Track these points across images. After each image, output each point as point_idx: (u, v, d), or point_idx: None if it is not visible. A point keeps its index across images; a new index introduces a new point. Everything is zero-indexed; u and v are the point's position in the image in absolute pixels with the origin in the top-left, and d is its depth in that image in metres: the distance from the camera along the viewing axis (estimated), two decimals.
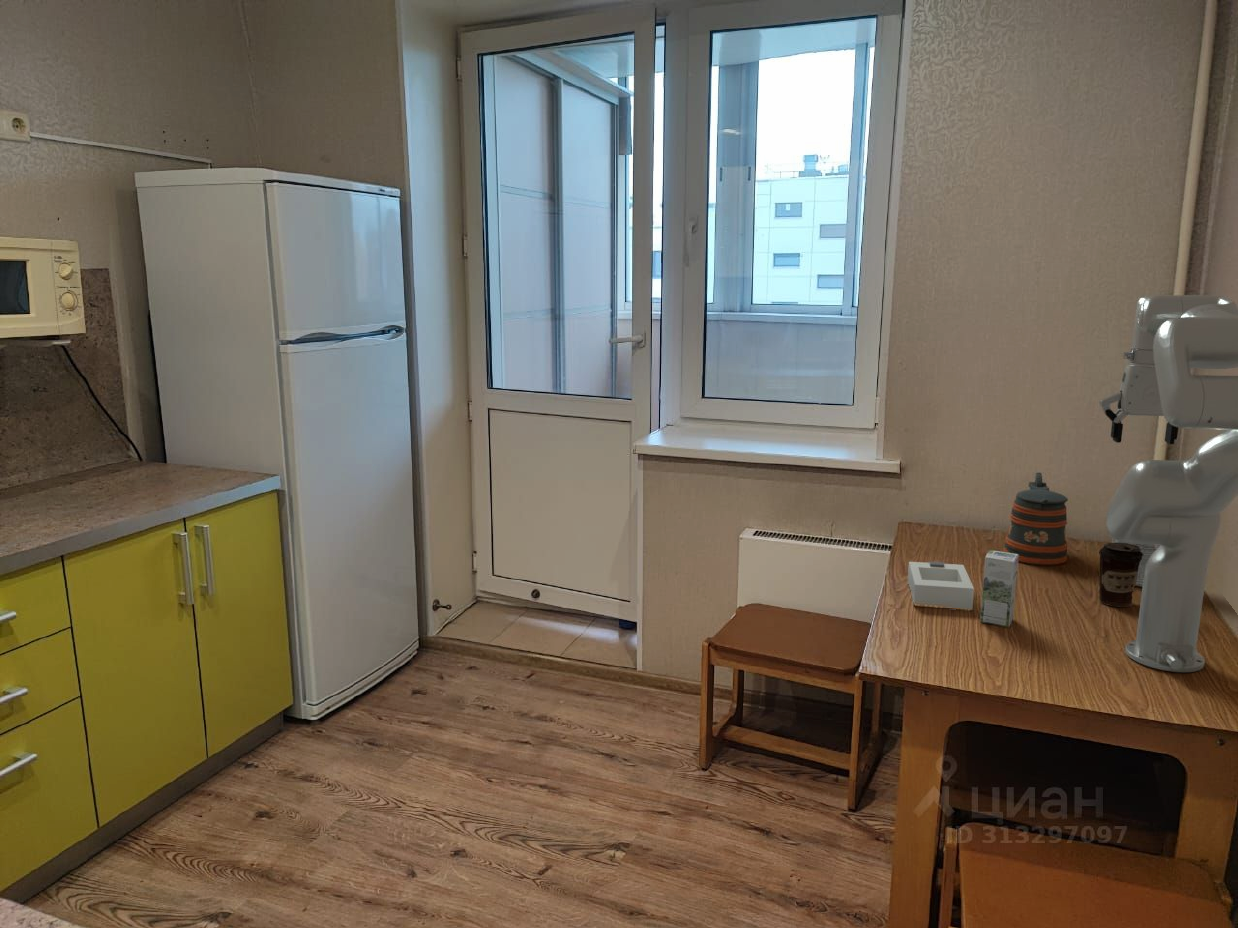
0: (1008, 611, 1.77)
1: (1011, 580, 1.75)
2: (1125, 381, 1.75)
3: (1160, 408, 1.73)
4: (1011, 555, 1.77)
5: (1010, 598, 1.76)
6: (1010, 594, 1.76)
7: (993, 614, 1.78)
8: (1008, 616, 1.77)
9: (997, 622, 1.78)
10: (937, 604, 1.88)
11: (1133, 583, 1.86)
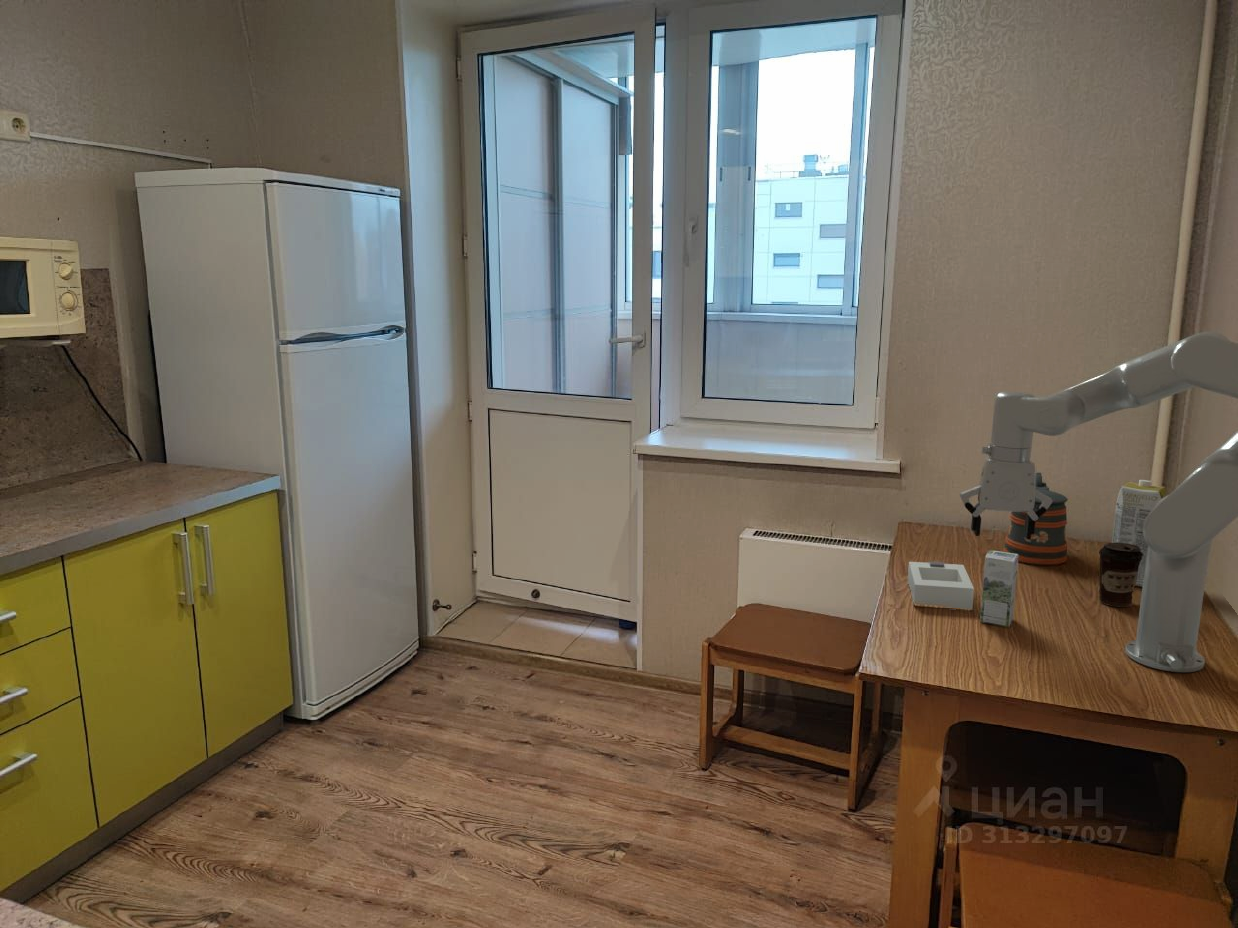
0: (1008, 611, 1.77)
1: (1011, 580, 1.75)
2: (983, 476, 1.74)
3: (1016, 504, 1.73)
4: (1011, 555, 1.77)
5: (1010, 598, 1.76)
6: (1010, 594, 1.76)
7: (993, 614, 1.78)
8: (1008, 616, 1.77)
9: (997, 622, 1.78)
10: (937, 604, 1.88)
11: (1133, 583, 1.86)
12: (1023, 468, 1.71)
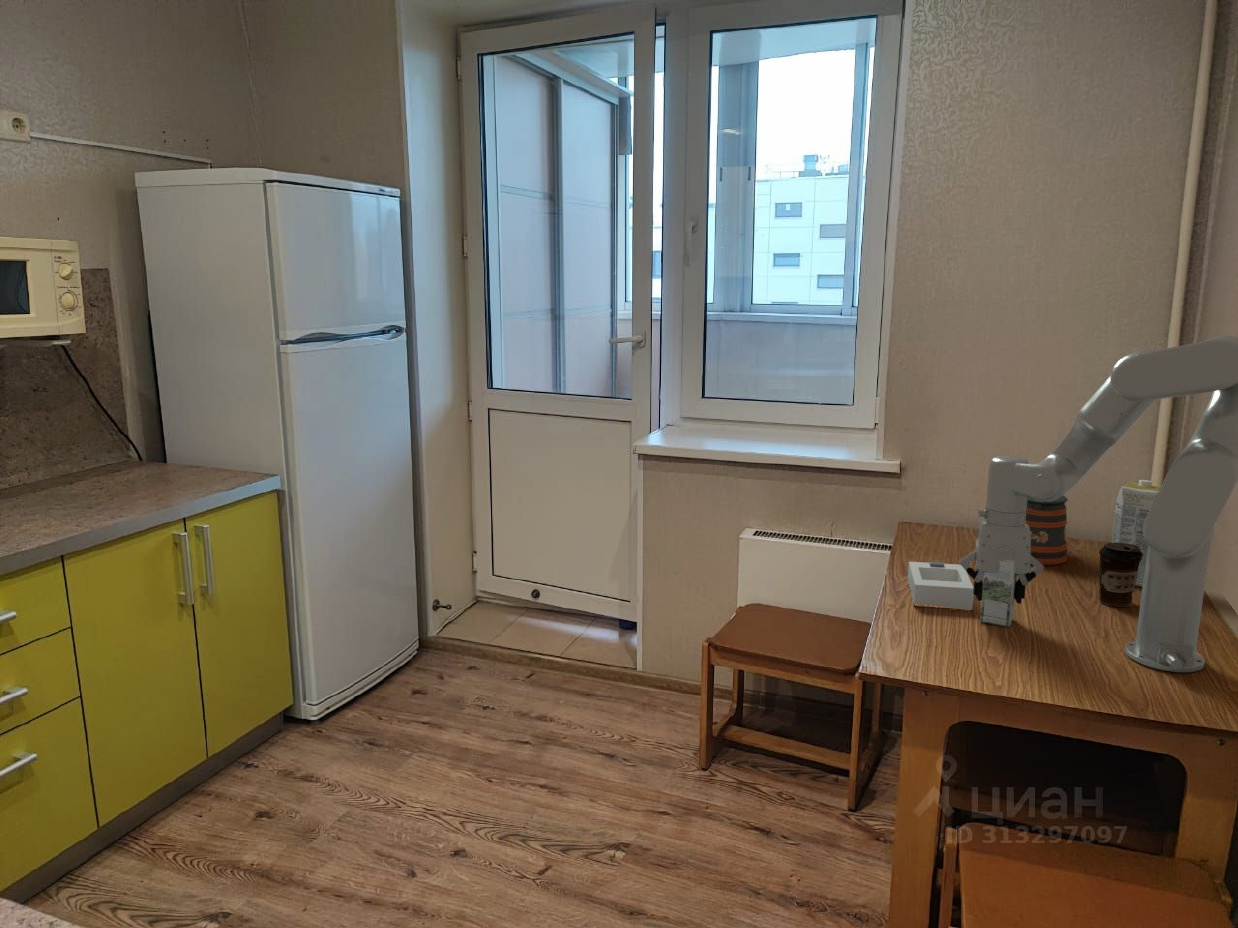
0: (1008, 611, 1.77)
1: (1011, 580, 1.75)
2: (979, 539, 1.77)
3: None
4: None
5: (1010, 598, 1.76)
6: (1010, 594, 1.76)
7: (993, 614, 1.78)
8: (1008, 616, 1.77)
9: (997, 622, 1.78)
10: (937, 604, 1.88)
11: (1133, 583, 1.86)
12: (1018, 532, 1.74)
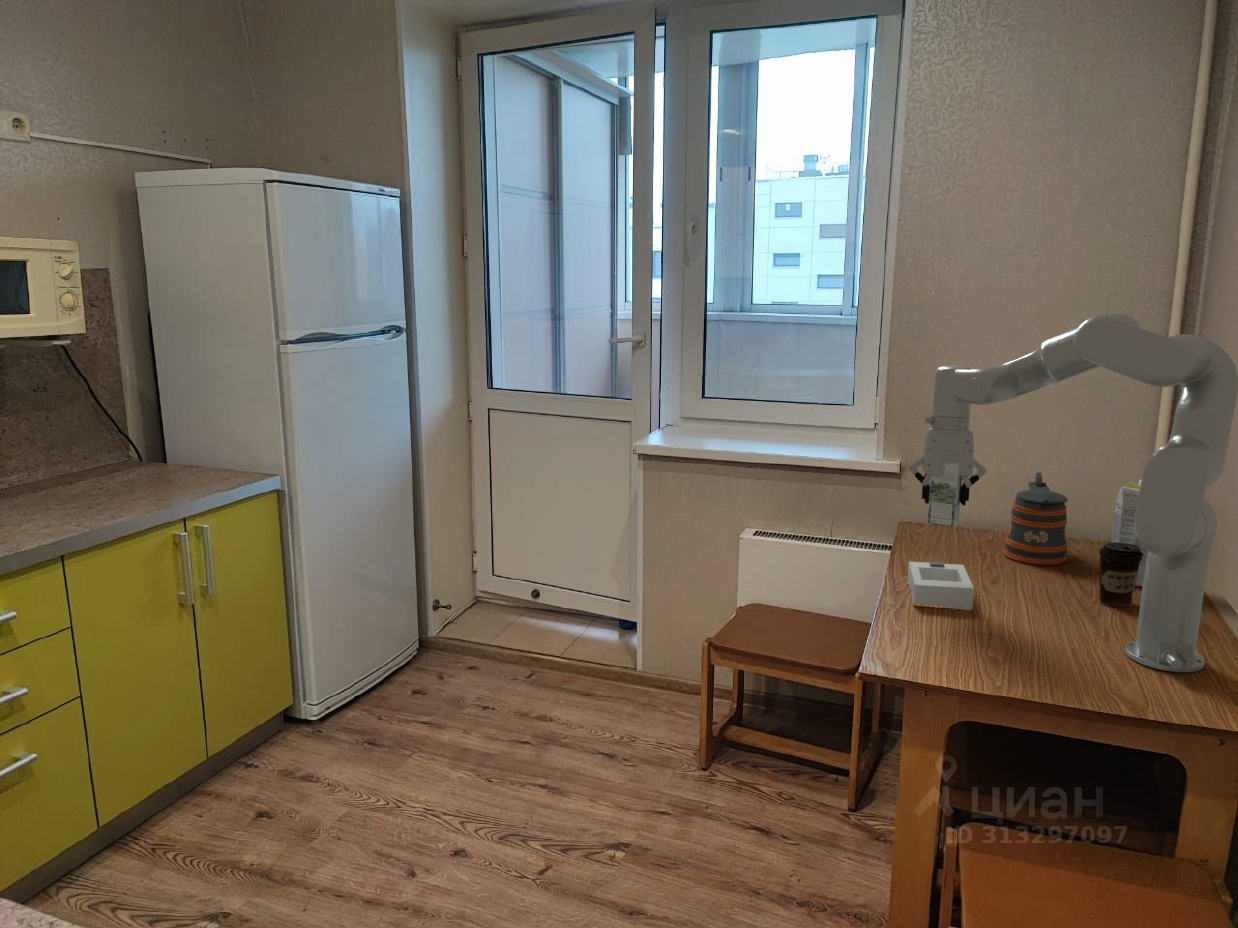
0: (953, 511, 1.88)
1: (955, 482, 1.86)
2: (925, 444, 1.88)
3: None
4: None
5: (955, 499, 1.87)
6: (955, 495, 1.87)
7: (939, 515, 1.90)
8: (953, 516, 1.88)
9: (943, 523, 1.89)
10: (937, 604, 1.88)
11: (1133, 583, 1.86)
12: (962, 436, 1.85)
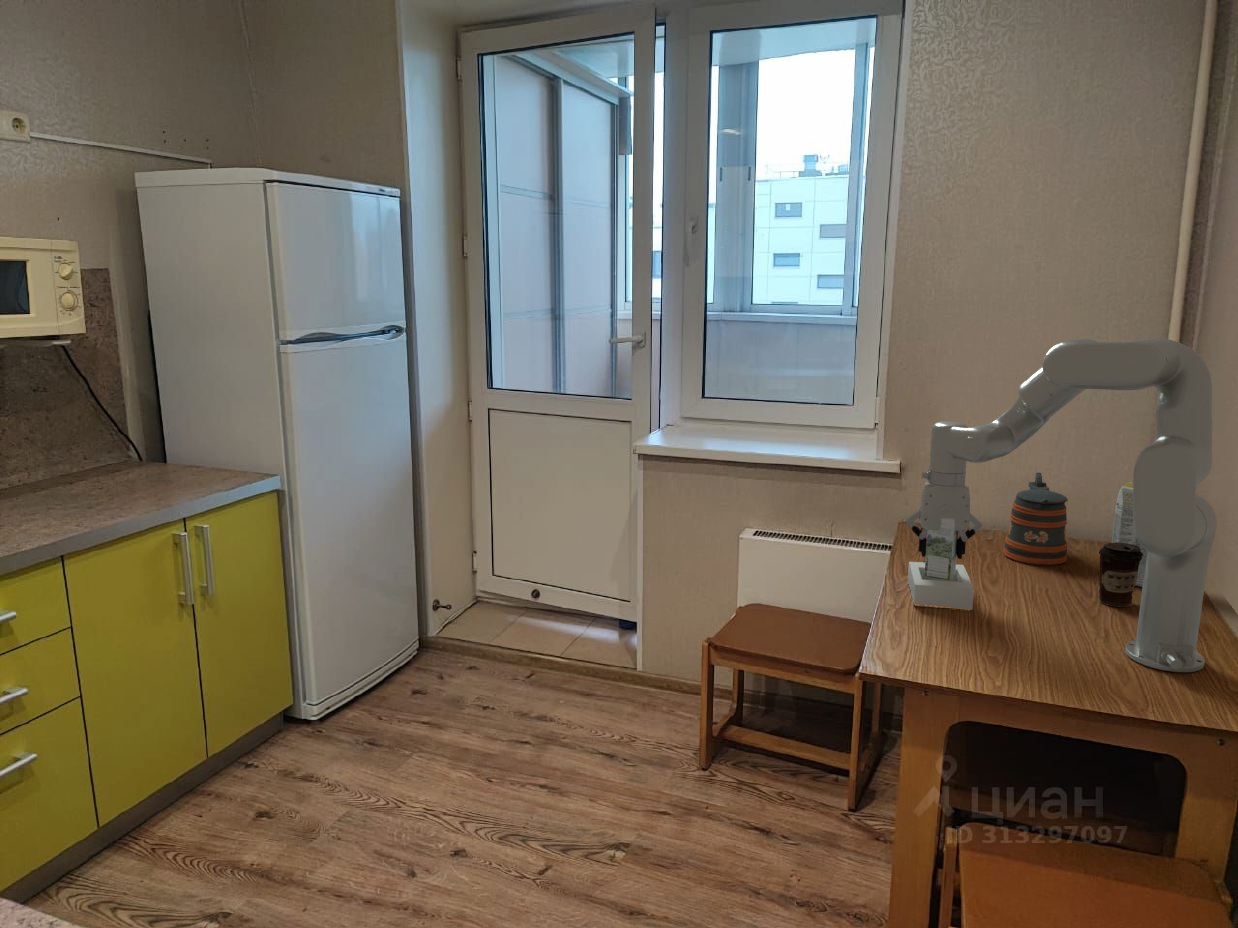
0: (949, 565, 1.90)
1: (952, 536, 1.89)
2: (922, 499, 1.91)
3: None
4: None
5: (951, 553, 1.90)
6: (951, 549, 1.90)
7: (936, 568, 1.92)
8: (949, 570, 1.91)
9: (939, 576, 1.92)
10: (937, 604, 1.88)
11: (1133, 583, 1.86)
12: (958, 492, 1.87)
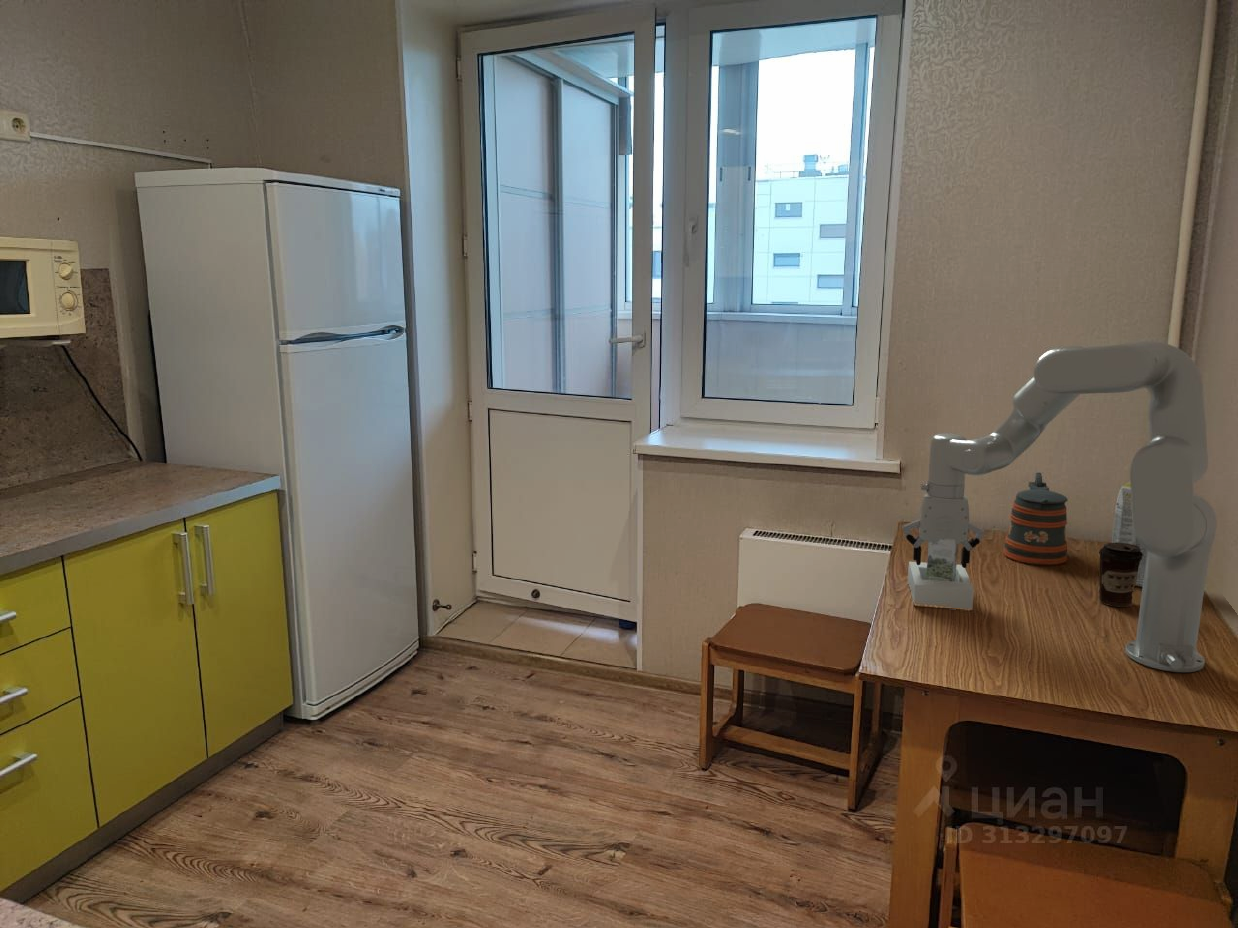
0: None
1: (952, 557, 1.90)
2: (921, 511, 1.91)
3: (951, 536, 1.90)
4: None
5: (952, 574, 1.91)
6: (952, 570, 1.90)
7: None
8: None
9: None
10: (937, 604, 1.88)
11: (1133, 583, 1.86)
12: (957, 504, 1.88)
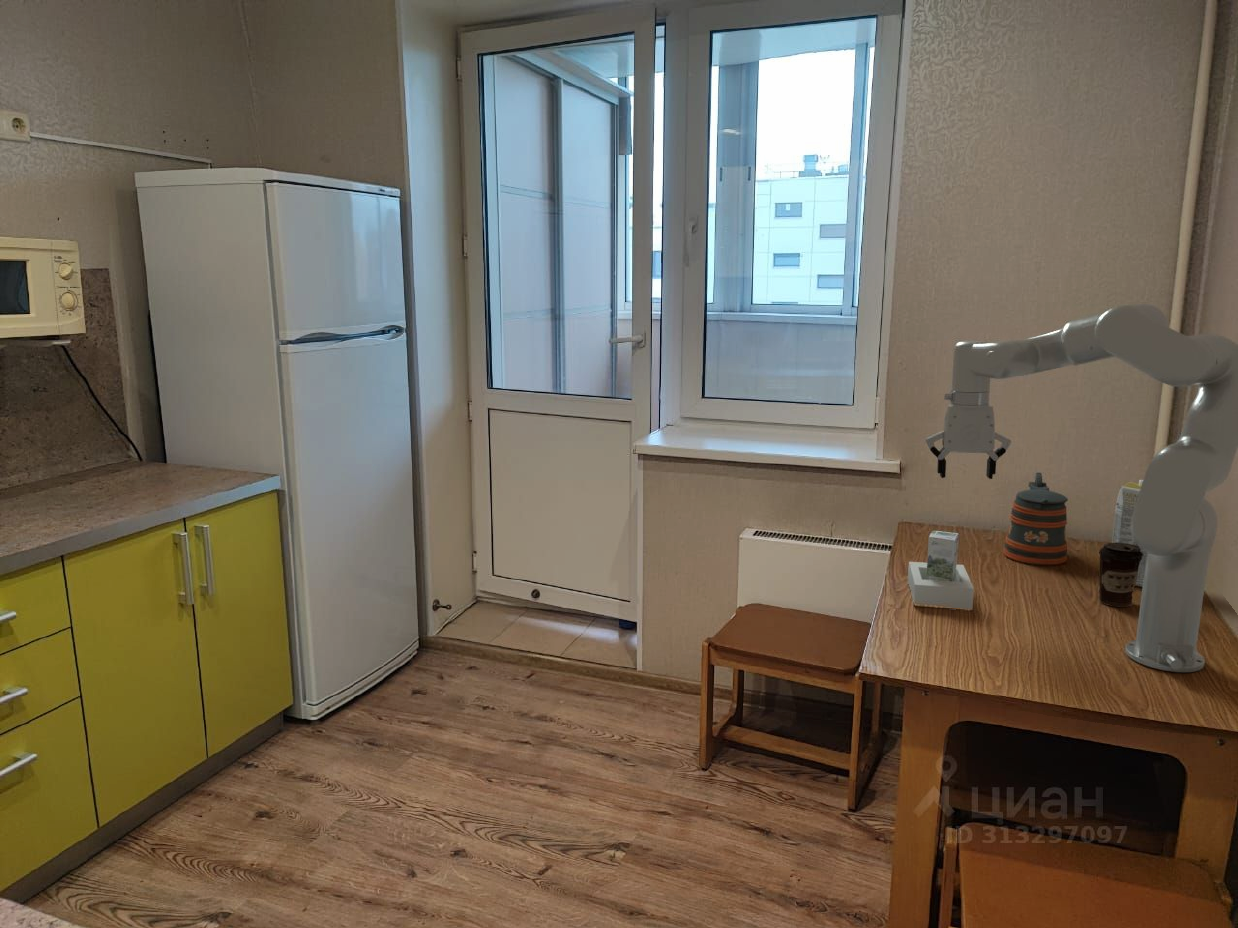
0: None
1: (952, 557, 1.90)
2: (946, 421, 1.87)
3: (977, 446, 1.85)
4: (952, 534, 1.92)
5: (952, 574, 1.91)
6: (952, 570, 1.90)
7: None
8: None
9: None
10: (937, 604, 1.88)
11: (1133, 583, 1.86)
12: (982, 411, 1.84)
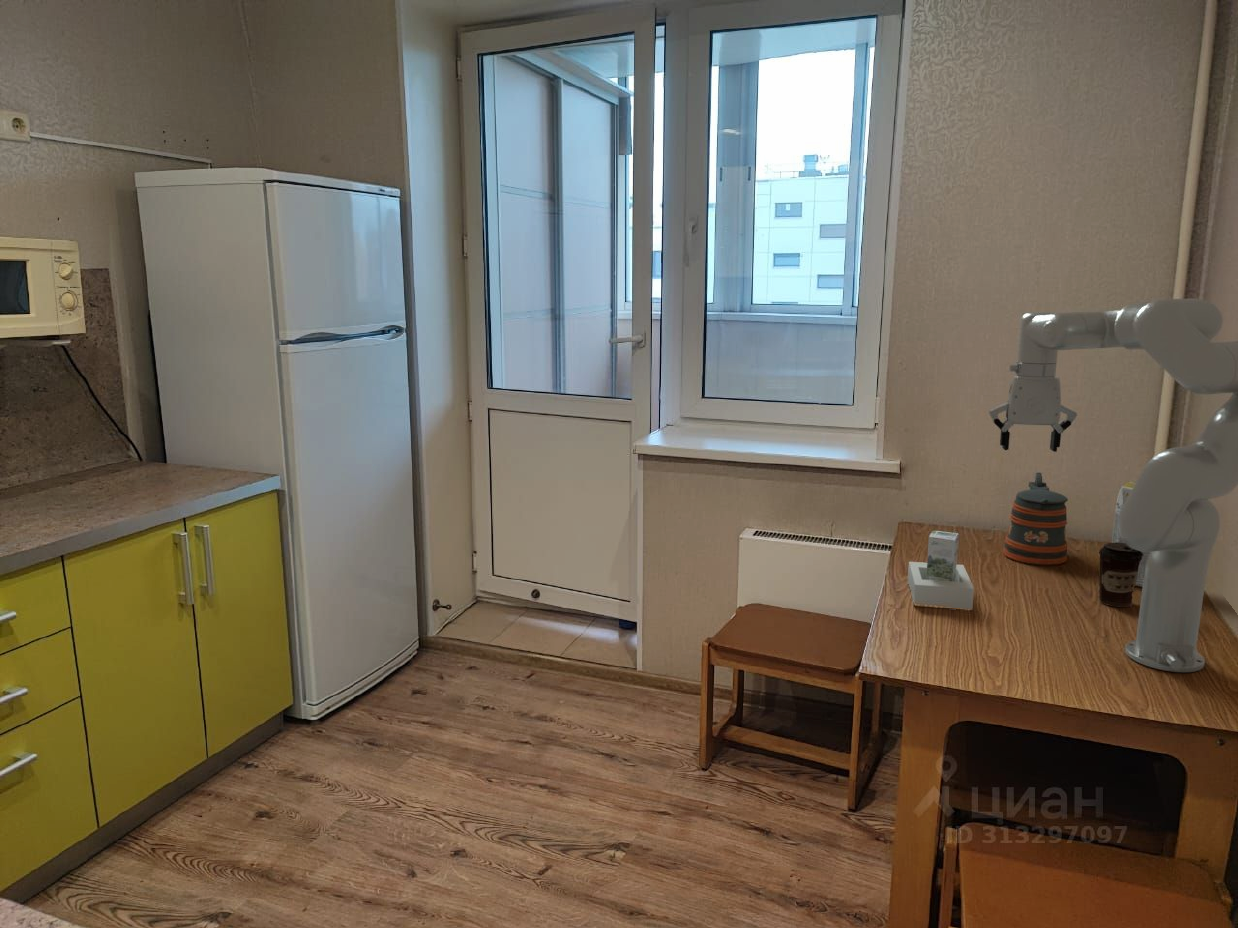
0: None
1: (952, 557, 1.90)
2: (1011, 392, 1.86)
3: (1042, 418, 1.84)
4: (952, 534, 1.92)
5: (952, 574, 1.91)
6: (952, 570, 1.90)
7: None
8: None
9: None
10: (937, 604, 1.88)
11: (1133, 583, 1.86)
12: (1049, 383, 1.82)
